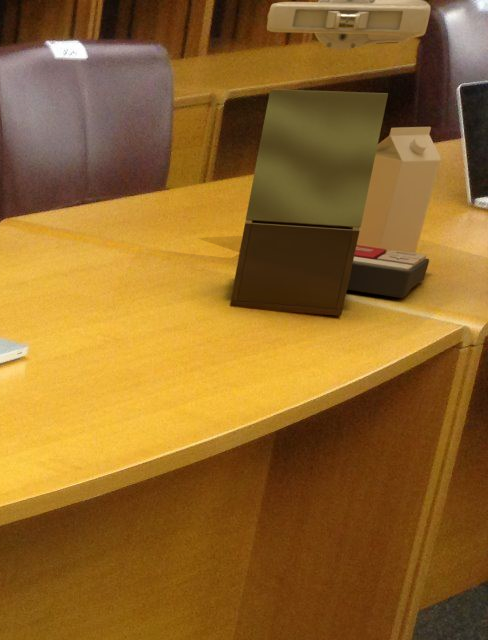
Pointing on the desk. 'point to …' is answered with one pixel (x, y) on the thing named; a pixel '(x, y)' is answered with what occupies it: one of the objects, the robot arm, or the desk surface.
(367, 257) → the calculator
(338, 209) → the lid
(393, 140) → the milk carton
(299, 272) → the chest
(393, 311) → the desk surface
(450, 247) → the desk surface
